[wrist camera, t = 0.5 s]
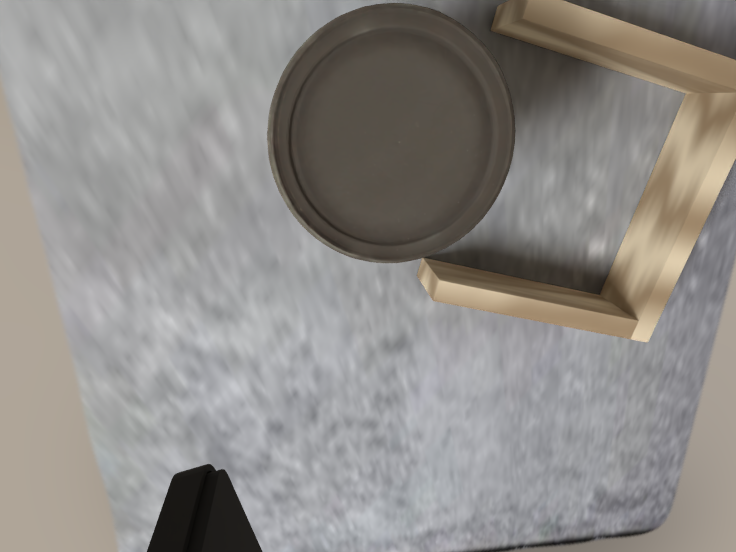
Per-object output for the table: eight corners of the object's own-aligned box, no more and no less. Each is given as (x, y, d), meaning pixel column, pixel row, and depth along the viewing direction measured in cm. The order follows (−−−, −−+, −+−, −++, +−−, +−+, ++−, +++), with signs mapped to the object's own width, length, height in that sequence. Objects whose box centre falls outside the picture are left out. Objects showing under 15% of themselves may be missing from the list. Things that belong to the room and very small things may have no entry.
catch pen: (497, 5, 31) (531, -11, 27) (712, 77, 35) (775, 74, 30) (416, 275, 37) (433, 300, 33) (608, 314, 41) (647, 342, 36)
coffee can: (329, 9, 30) (348, -60, 17) (460, 98, 33) (564, 97, 20) (254, 155, 33) (222, 192, 20) (383, 227, 36) (430, 301, 22)
